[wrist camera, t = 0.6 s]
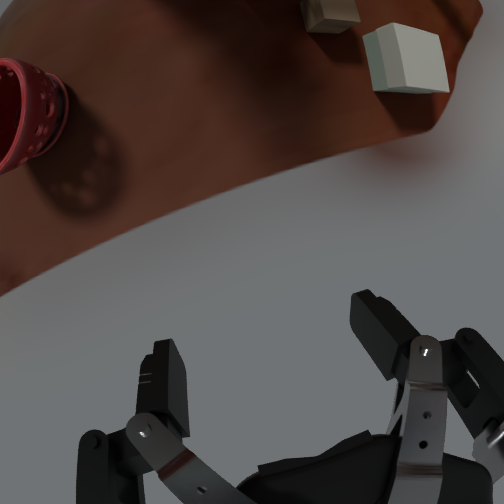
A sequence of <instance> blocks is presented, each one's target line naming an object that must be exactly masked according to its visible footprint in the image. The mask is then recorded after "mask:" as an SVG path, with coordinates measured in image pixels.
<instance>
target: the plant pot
mask: <svg viewBox="0 0 504 504" xmlns="http://www.w3.org/2000/svg"><path fill="white" fill-rule="evenodd" d="M10 72H12V73H11V74H8V73H10ZM0 75H1V76H0V175H1V174H4V173H6V172H9V171H11V170H13V169H15V168H17V167H19V166H20V165H22V164H24V163H25V162H27V161H28V160H30V159H31V158H33V157H37V156H40V155H42V154H44V153H45V152H47V151H48V150H49V149H50V148H51V147H52V146H53V145H54V144H55V143H56V141H57V140H58V139H59V137H60V136H61V134H62V132H63V130H64V127H65V124H66V121H67V118H68V113H69V97H68V92H67V89H66V87H65V85H64V83H63V82H62V81H61V79H60V78H58V77H57V76H56V75H54V74H51V73H44V72H43V71H42V70H41V69H39V68H38V67H35V66H33V65H31V64H29V63H26V62H24V61H21V60H17V59H12V58H1V59H0Z"/></svg>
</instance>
